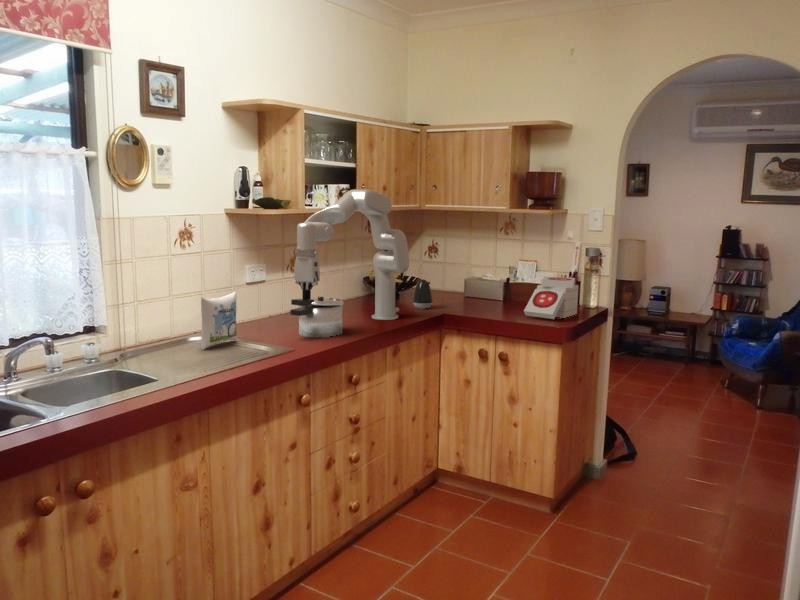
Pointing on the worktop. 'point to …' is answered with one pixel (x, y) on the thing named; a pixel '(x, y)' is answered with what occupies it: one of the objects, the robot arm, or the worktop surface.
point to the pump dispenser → (422, 295)
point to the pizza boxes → (554, 298)
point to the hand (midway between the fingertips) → (306, 299)
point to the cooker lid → (317, 301)
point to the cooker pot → (319, 320)
